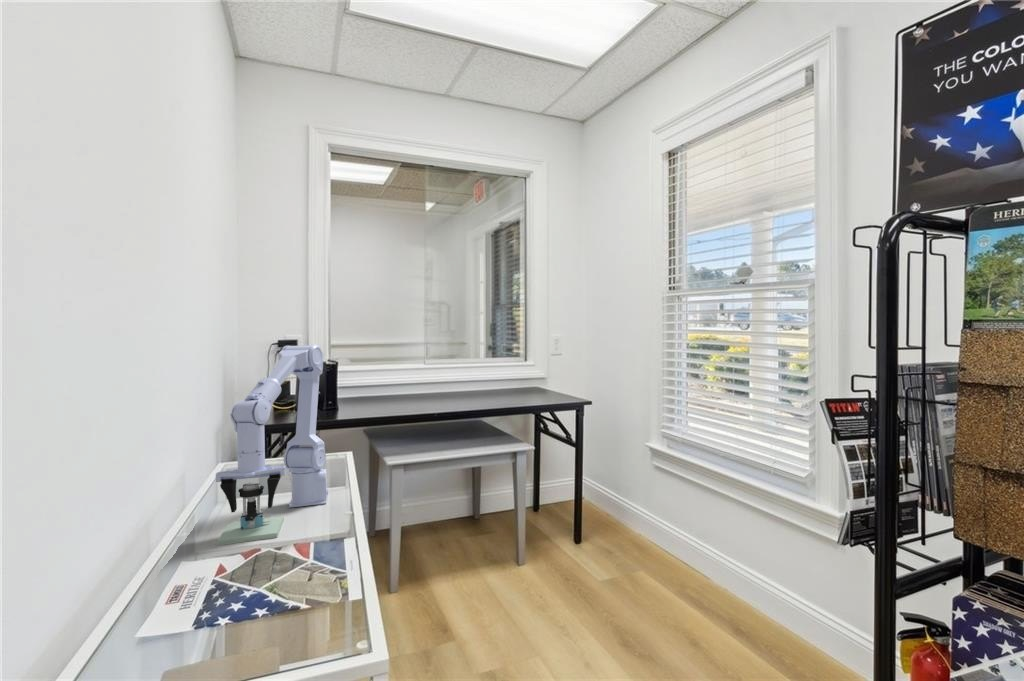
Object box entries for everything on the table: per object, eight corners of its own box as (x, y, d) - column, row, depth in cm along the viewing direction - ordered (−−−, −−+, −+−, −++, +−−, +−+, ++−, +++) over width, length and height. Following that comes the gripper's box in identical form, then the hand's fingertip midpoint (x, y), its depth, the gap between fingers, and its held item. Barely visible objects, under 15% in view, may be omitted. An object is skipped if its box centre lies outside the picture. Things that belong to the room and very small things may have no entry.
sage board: (283, 520, 123) (283, 516, 123) (277, 537, 112) (277, 532, 112) (229, 527, 120) (229, 522, 120) (217, 545, 108) (217, 540, 108)
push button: (270, 520, 121) (269, 479, 121) (271, 526, 116) (270, 483, 116) (239, 525, 117) (238, 483, 118) (238, 532, 113) (238, 488, 113)
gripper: (211, 457, 110) (212, 518, 110) (282, 451, 115) (283, 510, 114) (219, 451, 117) (220, 508, 116) (286, 446, 121) (287, 501, 121)
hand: (252, 508), depth 116 cm, fingers open, 7 cm apart
